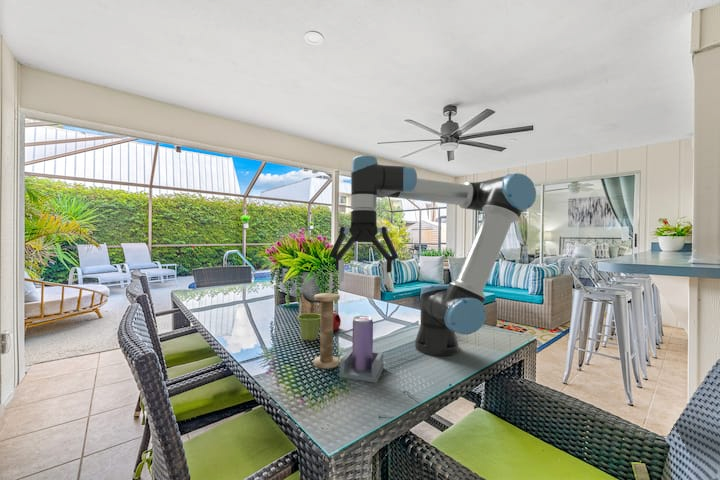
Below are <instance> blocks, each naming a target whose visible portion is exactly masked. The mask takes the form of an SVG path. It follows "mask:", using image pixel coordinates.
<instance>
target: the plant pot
mask: <svg viewBox="0 0 720 480" xmlns="http://www.w3.org/2000/svg"><path fill="white" fill-rule="evenodd" d="M320 316H321V314H320V313H302V314H300V315H297V319H298V323H299V328H300V333H301V334H300V335H301V340H303V341H315V340H317V339H318V338H319V336H318V335H319V330H320V327H319V325H320Z"/></svg>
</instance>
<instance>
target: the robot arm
mask: <svg viewBox="0 0 720 480" xmlns="http://www.w3.org/2000/svg"><path fill="white" fill-rule="evenodd" d="M350 171H351V172H350V175H351V177H350V178H351V182H350V186H351V187H350V188H351V195H350V209H351V212H350V227H347V226H340V228H339V235H338V236H337V239H336V240H335V243H334V245H333V246H332V248H331V251H330V253H329V258H333V259H334V260H335V270H336V271H338V283H341V282H344V281H345V280H344V279H345V274H344V273H345V259H344V258H343V257H344V256H345V255H346V253H348V251H349V250H350V248H352V246H353V245H354V244H355V243H356V242H357V243H362V242H364V243H370V242H371V243H372V244H373V245H374V246H375V247H376V249H377V251H378V252H380V254H381V255H382V256H383V257H384V258H385V261H384V260H383V285H388V284H389V273H390V274H391V272H392V270H393V265H392V264H393V261H395V260H398V259H399V255H398V253H397V250H396V249H395V246H394V244H393V242H392V240H391V238H390V236H389V233H388V227H386V226H382V227H377V226H378V225H377V213H378V212H377V211H376V210H377V205H378V201H377V200H378V199H377V198H393V199H394V198H395V199H396V198H397V199H403V200H404V199H405V200H413V201H422V202H431V203H438V204H439V203H440V204H445V205H446V204H448V205H456V206H459V207H460V208H461V209H466V210H471V211H472V210H473V211H478V212H483V214H484V215H483V217H482V220H481V222H480V224H479V227H478V229H477V232H476V233H475V236H474V238H473V241H472V244H471V246H470V248H469V250H468V253H467V254H466V257H465V259H464V262H463V264H462V267H461V269H460V271H459V273H458V275H457V278H456V280H453V281H451V282H449V284H424V285H423V286H421V288H420V326H419V328H418V331H417V335H416V338H415V342H414V343H415V345H414V346H415V349H416V350H418V351H419V352H421V353H424V354H425V355H426V354H427V355H430V356H438V357H439V356H440V357H441V356H442V357H446V356H453V355H456V354H457V353H458V352H459V342H458V338H457V335H456V333H457V334H459V335H463V336H465V335H466V336H467V335H471V334H473V333H476V332H477V331H479V330H480V329H481V328H482V327H483V325H484V324H485V321H486V319H487V312H486V306H485V305H484V303H485V301H486V296H485V293H484V290H485V287H486V284H487V282H488V280H489V277H490V275H491V272H492V270H493V268H494V266H495V263H496V261H497V258H498V256H499V254H500V252H501V249H502V248H503V247H502V246H503V244H504V241H505V239H506V237H507V234H508V232H509V229H510V227H511V226H512V224H514V223H516V222H518V221H519V219H520V217H521V215H522V213H523V211H526V210H528V209H529V208H531V207H532V206H533V205H534V203H535V202H536V198H537V190H536V186H535V185H534V182H533V180H532V178H530V177H529V176H527V175H526V174H523V173H518V172H517V173H516V172H515V173H508V174H506V175H504V176H501V177H500V176H499V177H496V178H491V179H487V180H484V181H483V180H482V181H476V182H475V181H474V182H471V181H465V182H463V183H457V182H456V183H455V182H449V181H441V180H434V179H432V180H431V179H426V178H418V175H417V174H418V173H417V171H416V169H415V168H414V167H413V166H412V167H410V166H405V165H403V166H399V165H398V166H397V165H384V164H383V165H382V164H379V163H378V159H377V158H376V157H375V156H373V155H364V154H363V155H357V156H355V157H353V158H352V161H351V169H350ZM349 233H350V235H351V237H350V238H349V239H348V241H347V242H346V243H345V245H343V247H342V248H341V246H342V244H343V242H344V240H345V238H346V235H348V234H349ZM378 233H379V234H380V235H382V238H383V240H384V242H385V244H386V246H387V249H388V251H389V252H388V251H387V250H386V249H385V247H384V246H383V245H382V244H381V242H380V241H379V240H378V238H377V237H376V235H377V234H378ZM340 248H341V249H340ZM389 253H390V254H389Z"/></svg>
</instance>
